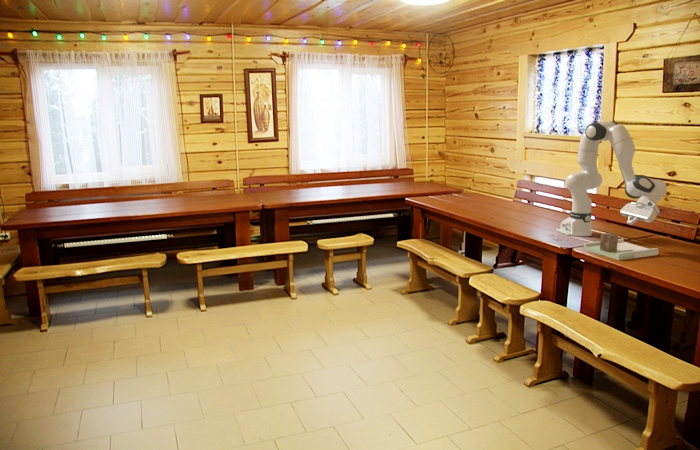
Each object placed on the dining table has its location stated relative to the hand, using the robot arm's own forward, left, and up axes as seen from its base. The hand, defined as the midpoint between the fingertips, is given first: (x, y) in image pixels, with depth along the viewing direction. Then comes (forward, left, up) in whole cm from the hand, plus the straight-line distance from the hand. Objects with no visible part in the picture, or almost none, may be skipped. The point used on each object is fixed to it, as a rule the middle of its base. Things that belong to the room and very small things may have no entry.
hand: (629, 223), depth 319 cm
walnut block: (+1, -15, -13) cm, 20 cm away
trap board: (0, -5, -15) cm, 16 cm away
